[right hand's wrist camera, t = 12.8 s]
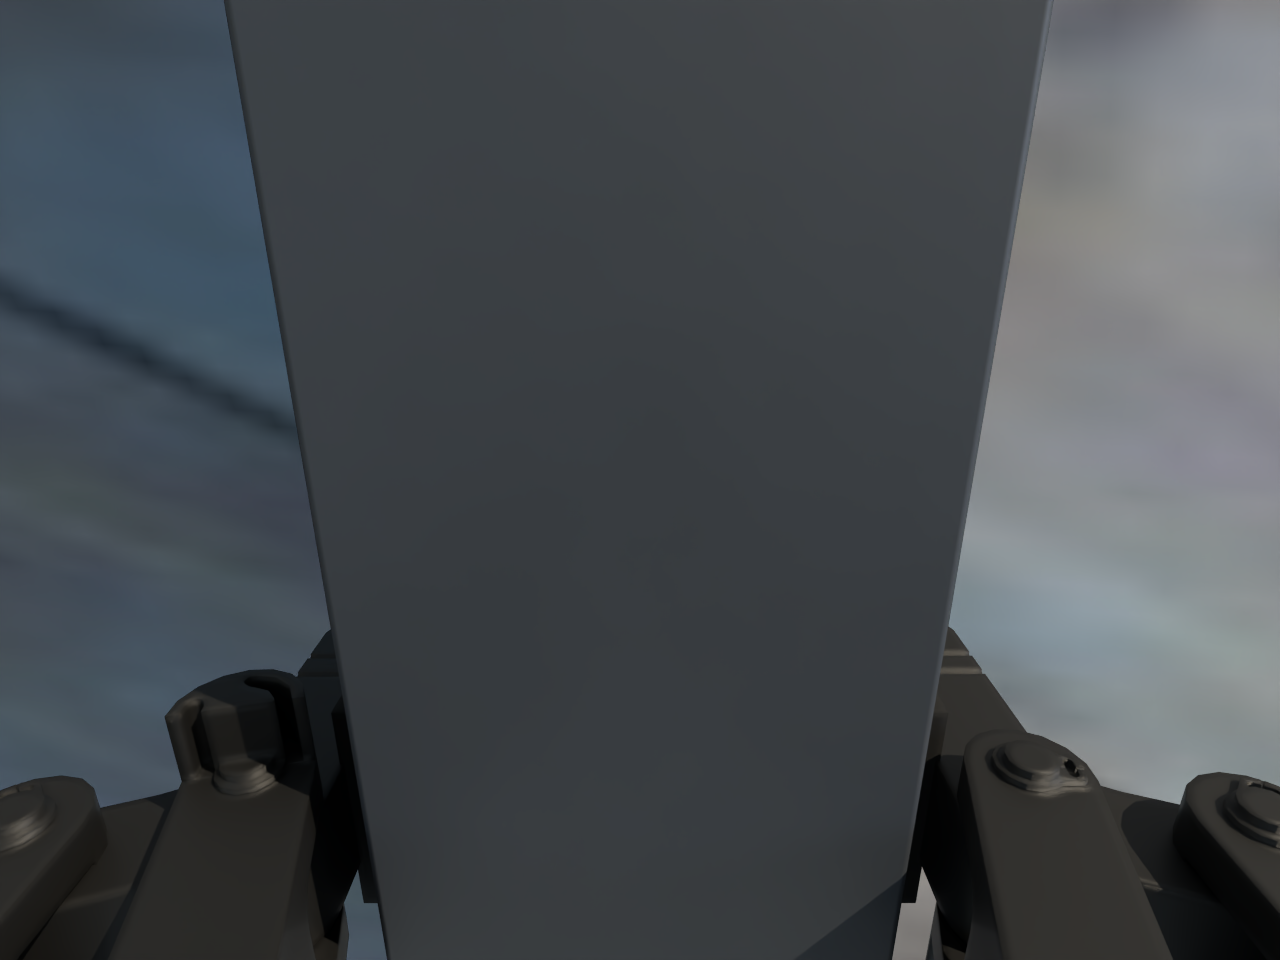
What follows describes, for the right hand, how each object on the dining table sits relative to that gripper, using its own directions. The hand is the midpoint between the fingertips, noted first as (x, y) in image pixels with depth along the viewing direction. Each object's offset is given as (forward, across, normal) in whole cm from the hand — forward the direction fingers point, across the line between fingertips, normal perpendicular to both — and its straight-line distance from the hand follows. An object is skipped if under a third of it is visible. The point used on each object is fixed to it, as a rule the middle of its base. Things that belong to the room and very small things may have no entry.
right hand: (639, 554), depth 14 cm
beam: (0, 0, -12) cm, 12 cm away
